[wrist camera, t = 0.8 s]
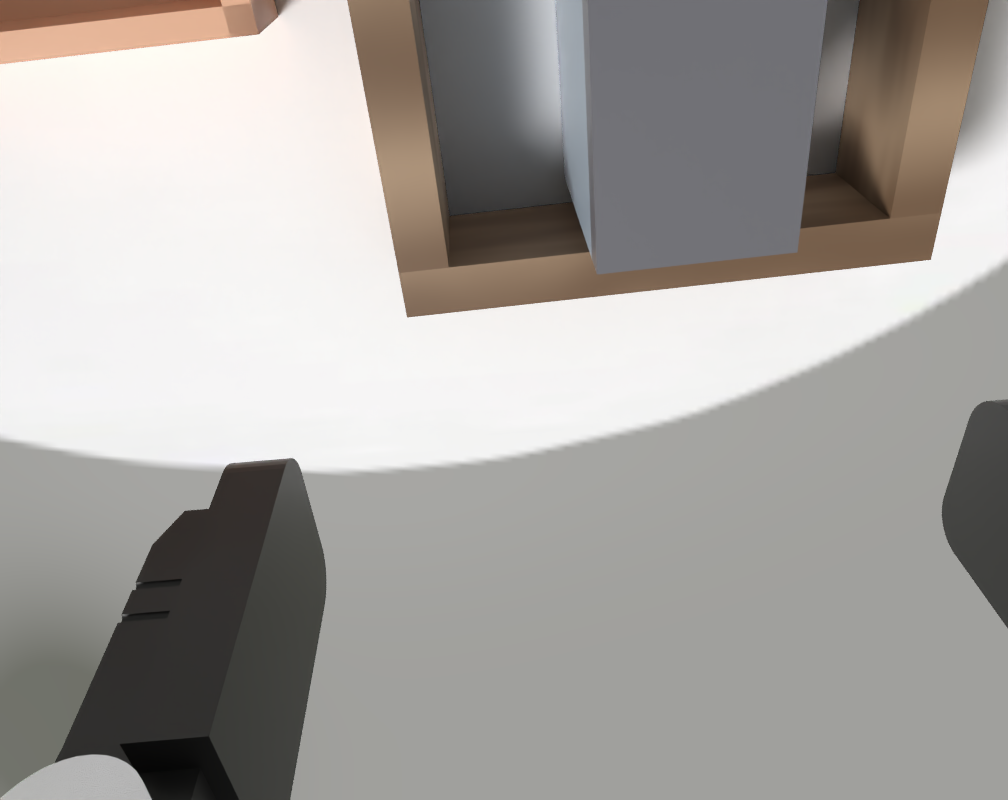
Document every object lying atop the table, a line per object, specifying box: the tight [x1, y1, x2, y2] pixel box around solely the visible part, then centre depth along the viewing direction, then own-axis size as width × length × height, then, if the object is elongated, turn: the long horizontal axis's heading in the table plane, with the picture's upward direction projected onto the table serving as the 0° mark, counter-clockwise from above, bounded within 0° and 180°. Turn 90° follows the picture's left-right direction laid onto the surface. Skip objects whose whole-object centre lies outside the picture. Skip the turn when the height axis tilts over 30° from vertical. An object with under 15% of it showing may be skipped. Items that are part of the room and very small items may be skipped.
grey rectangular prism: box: [555, 0, 828, 274], centre depth 22 cm, size 10×6×8 cm, turn 6°
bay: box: [347, 0, 989, 317], centre depth 24 cm, size 14×17×4 cm
